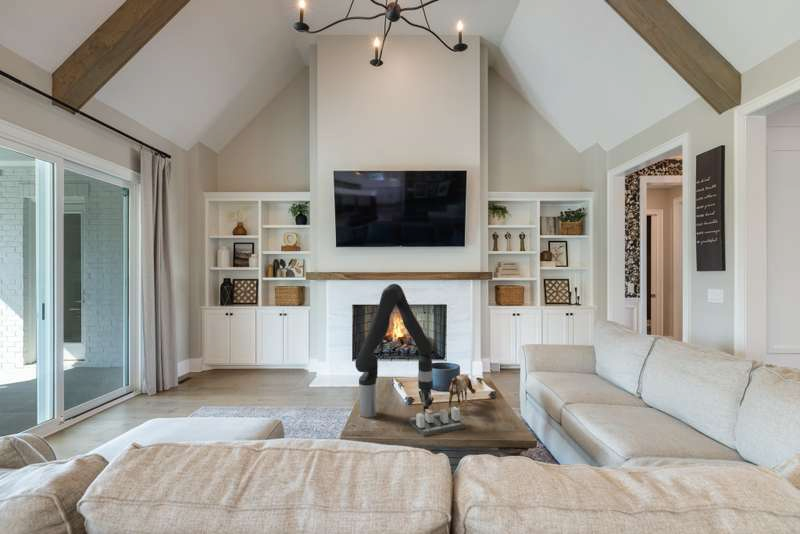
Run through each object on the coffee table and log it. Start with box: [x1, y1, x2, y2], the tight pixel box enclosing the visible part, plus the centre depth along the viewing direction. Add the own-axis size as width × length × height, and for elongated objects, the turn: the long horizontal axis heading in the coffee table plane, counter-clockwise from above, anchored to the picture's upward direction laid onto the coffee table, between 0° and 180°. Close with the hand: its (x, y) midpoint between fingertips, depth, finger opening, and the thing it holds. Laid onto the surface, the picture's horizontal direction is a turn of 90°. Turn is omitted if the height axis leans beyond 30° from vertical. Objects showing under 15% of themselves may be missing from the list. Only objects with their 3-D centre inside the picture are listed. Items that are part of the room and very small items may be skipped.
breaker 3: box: [439, 408, 449, 423], centre depth 203 cm, size 4×2×6 cm, turn 22°
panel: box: [407, 412, 465, 437], centre depth 204 cm, size 18×23×2 cm
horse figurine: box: [448, 374, 477, 414], centre depth 227 cm, size 31×8×21 cm, turn 149°
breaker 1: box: [415, 412, 425, 428], centre depth 198 cm, size 4×2×6 cm, turn 22°
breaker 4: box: [451, 406, 461, 421], centre depth 205 cm, size 4×2×6 cm, turn 22°
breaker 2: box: [424, 408, 434, 423], centre depth 204 cm, size 4×3×6 cm, turn 22°
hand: (426, 412), depth 207 cm, fingers closed
